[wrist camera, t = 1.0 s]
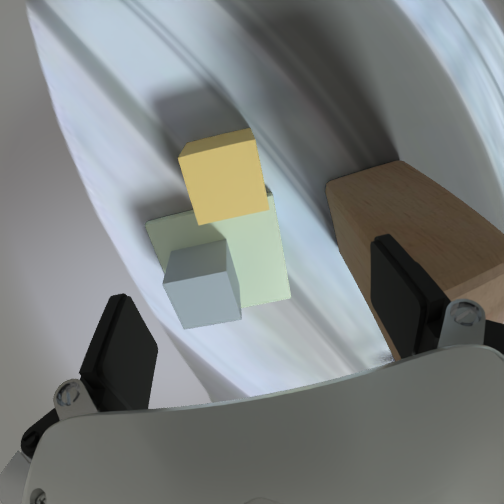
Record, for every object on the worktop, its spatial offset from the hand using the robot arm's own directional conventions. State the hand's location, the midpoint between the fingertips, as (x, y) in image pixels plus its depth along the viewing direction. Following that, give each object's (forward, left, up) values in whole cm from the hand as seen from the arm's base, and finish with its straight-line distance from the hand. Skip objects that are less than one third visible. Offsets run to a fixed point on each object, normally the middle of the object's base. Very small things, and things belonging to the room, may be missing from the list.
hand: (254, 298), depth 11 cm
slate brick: (+12, -6, -21) cm, 25 cm away
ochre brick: (+1, -1, -22) cm, 22 cm away
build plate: (+12, -4, -22) cm, 25 cm away
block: (+9, +14, -22) cm, 27 cm away
